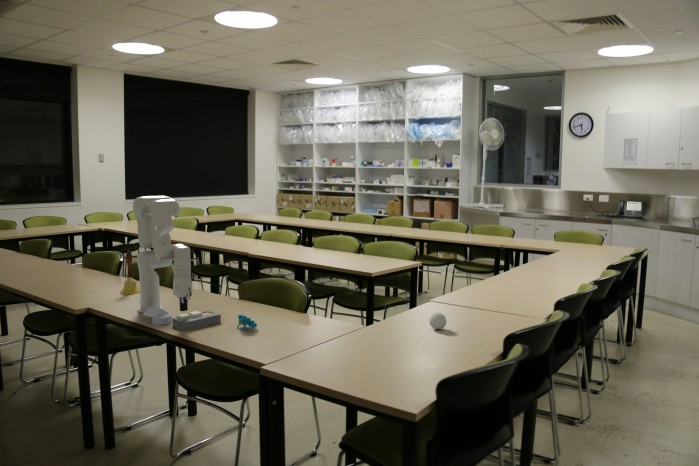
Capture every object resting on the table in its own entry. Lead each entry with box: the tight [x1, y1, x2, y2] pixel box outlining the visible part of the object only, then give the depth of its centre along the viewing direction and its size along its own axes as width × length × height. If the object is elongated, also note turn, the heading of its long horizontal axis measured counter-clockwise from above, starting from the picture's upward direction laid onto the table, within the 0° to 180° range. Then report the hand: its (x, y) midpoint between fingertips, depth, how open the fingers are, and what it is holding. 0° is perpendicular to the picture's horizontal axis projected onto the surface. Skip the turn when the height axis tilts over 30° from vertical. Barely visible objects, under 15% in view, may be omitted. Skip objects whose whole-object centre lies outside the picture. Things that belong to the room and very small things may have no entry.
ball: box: [429, 312, 447, 330], centre depth 258 cm, size 8×8×8 cm
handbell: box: [119, 250, 140, 295], centre depth 324 cm, size 12×12×25 cm
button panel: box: [172, 310, 222, 332], centre depth 261 cm, size 10×20×4 cm, turn 138°
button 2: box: [188, 310, 202, 318], centre depth 262 cm, size 4×4×3 cm
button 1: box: [176, 313, 190, 320], centre depth 258 cm, size 4×4×3 cm
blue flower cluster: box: [236, 314, 258, 331], centre depth 254 cm, size 11×6×10 cm
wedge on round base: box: [142, 306, 173, 326], centre depth 266 cm, size 9×7×13 cm
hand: (183, 310), depth 257 cm, fingers closed
